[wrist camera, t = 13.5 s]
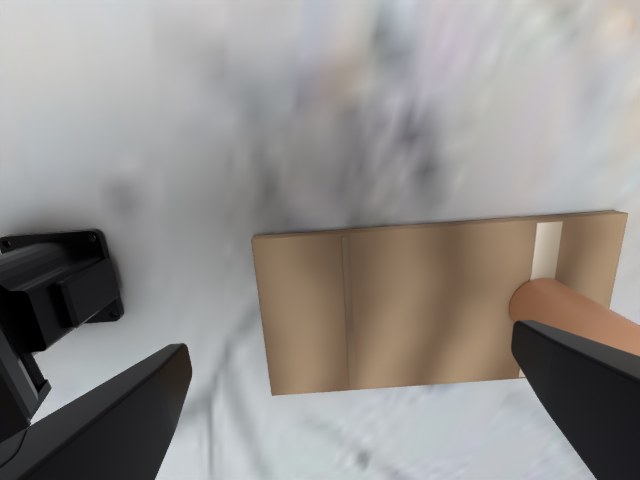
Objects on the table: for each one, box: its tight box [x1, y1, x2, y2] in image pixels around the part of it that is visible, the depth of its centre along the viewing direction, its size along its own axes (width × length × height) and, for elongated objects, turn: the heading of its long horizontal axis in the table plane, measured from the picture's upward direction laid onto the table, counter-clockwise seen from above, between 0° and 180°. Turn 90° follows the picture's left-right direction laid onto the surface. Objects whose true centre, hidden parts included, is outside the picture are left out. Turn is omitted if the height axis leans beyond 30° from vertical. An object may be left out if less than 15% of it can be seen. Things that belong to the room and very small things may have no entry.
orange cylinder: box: [509, 278, 640, 356], centre depth 17 cm, size 4×4×11 cm
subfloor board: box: [251, 210, 628, 396], centre depth 22 cm, size 24×12×1 cm, turn 94°
